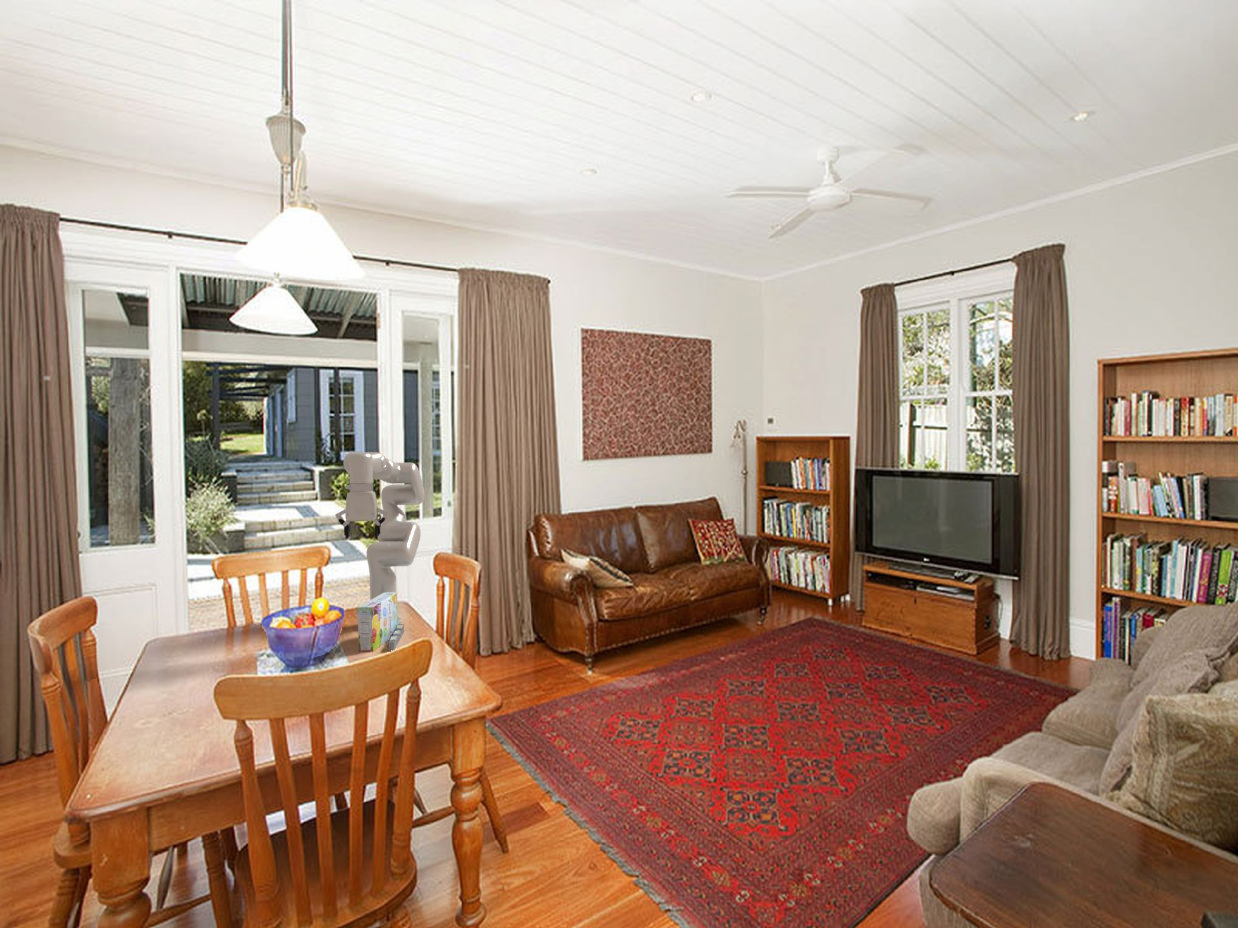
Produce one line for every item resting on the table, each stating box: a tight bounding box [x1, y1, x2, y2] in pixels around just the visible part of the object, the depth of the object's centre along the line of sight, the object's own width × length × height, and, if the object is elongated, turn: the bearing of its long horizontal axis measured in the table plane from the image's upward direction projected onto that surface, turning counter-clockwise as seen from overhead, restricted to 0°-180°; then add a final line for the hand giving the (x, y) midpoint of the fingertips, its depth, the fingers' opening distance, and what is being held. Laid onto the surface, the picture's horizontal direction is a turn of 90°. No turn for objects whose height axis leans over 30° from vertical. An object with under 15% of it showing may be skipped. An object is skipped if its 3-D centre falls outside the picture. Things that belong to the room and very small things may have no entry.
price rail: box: [388, 623, 405, 652], centre depth 221 cm, size 22×2×3 cm, turn 10°
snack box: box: [356, 591, 399, 652], centre depth 220 cm, size 21×6×15 cm, turn 177°
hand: (362, 537), depth 222 cm, fingers open, 9 cm apart
